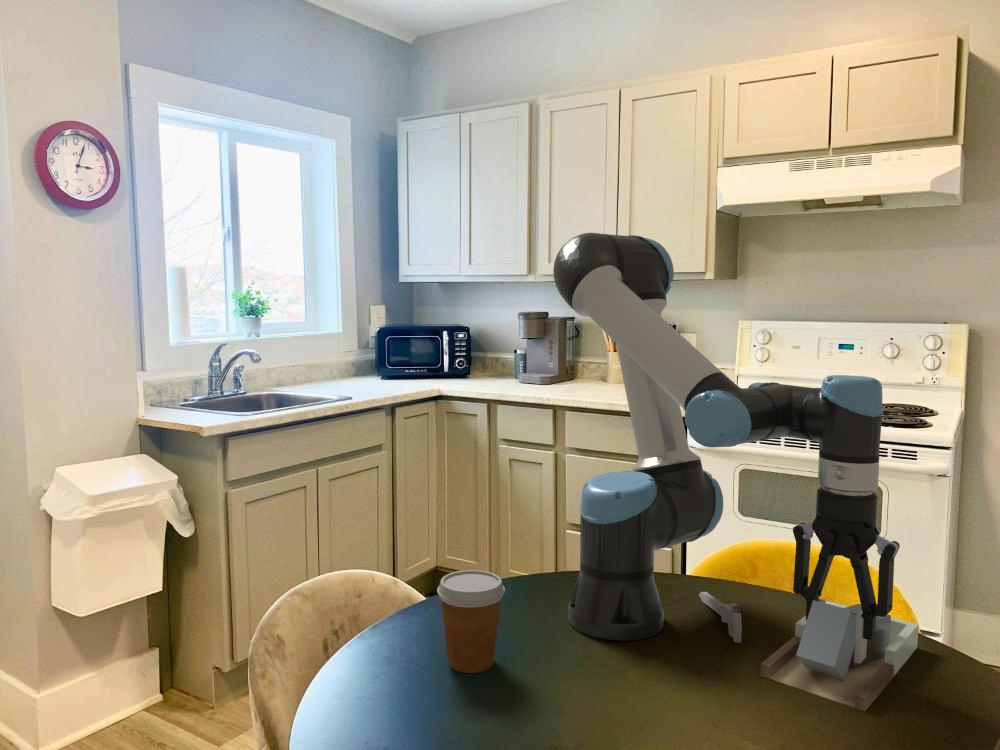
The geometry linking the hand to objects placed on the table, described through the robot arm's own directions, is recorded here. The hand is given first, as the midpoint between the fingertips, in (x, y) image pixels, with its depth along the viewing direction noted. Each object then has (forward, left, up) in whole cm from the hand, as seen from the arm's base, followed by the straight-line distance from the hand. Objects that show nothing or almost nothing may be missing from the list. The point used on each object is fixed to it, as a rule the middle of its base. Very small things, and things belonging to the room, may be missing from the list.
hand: (838, 652), depth 106 cm
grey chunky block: (+1, +7, -2) cm, 7 cm away
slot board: (0, +2, -3) cm, 3 cm away
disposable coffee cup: (-39, -33, -3) cm, 51 cm away
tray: (0, +8, -3) cm, 8 cm away
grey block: (0, -6, 0) cm, 7 cm away
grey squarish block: (0, +3, -2) cm, 3 cm away
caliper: (-20, +5, -3) cm, 21 cm away
